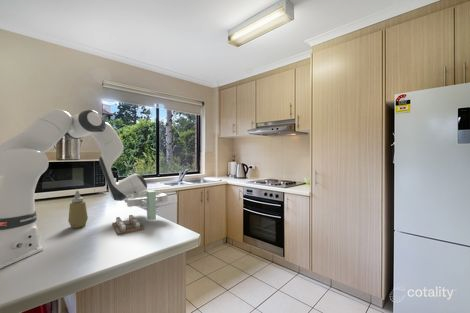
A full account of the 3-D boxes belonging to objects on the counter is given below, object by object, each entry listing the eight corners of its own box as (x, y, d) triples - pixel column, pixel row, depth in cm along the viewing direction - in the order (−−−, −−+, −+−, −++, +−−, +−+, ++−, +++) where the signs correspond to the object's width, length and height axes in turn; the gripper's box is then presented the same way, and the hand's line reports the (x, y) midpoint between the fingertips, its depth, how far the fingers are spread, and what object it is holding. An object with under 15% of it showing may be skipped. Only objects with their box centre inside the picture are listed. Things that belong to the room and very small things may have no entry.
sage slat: (156, 219, 110) (155, 191, 110) (149, 220, 108) (149, 192, 108) (153, 217, 114) (152, 190, 114) (147, 218, 112) (146, 190, 112)
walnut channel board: (143, 229, 104) (143, 222, 104) (118, 235, 98) (117, 227, 98) (135, 220, 119) (135, 214, 119) (112, 224, 112) (112, 217, 112)
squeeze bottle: (64, 228, 109) (63, 192, 108) (80, 223, 116) (79, 189, 116) (75, 229, 106) (74, 192, 105) (91, 224, 113) (90, 189, 113)
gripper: (123, 194, 115) (128, 198, 104) (162, 190, 127) (171, 193, 116) (124, 206, 115) (129, 212, 104) (162, 201, 128) (171, 205, 116)
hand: (151, 202), depth 110 cm, fingers closed on sage slat, 3 cm apart
